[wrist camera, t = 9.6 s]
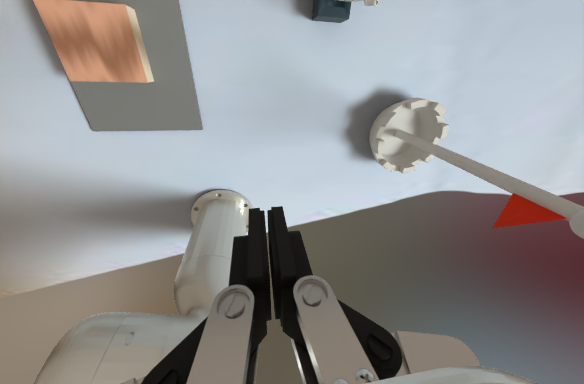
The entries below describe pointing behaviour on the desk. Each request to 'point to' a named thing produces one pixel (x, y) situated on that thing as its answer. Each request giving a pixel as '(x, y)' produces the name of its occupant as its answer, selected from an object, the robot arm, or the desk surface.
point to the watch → (335, 9)
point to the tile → (96, 40)
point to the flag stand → (459, 162)
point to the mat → (153, 95)
